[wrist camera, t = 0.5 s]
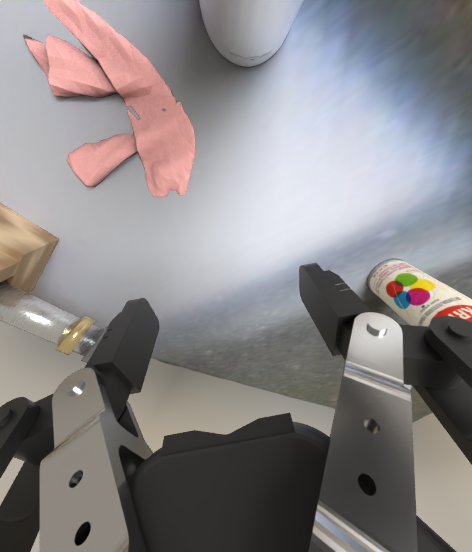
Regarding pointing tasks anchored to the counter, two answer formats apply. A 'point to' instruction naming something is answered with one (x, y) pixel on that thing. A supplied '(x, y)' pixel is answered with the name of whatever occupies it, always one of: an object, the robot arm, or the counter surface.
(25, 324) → the shaft
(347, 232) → the counter surface
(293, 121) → the counter surface
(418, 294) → the aerosol can
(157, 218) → the counter surface
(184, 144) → the cloth
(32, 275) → the bearing block
